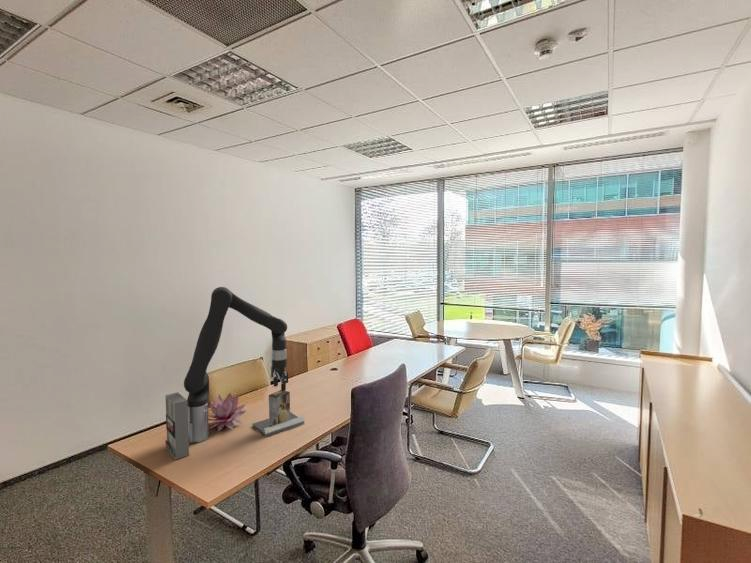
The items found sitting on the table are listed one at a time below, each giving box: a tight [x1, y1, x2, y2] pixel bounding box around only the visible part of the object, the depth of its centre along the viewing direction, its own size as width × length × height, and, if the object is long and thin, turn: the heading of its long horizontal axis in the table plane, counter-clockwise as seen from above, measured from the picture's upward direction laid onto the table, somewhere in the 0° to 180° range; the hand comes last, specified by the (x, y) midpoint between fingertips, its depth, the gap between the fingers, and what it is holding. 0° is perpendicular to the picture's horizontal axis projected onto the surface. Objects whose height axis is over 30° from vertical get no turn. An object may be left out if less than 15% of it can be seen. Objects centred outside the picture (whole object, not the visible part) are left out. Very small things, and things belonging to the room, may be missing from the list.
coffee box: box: [268, 389, 291, 426], centre depth 190 cm, size 9×6×16 cm
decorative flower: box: [208, 392, 247, 432], centre depth 190 cm, size 21×21×15 cm
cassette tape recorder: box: [164, 392, 190, 461], centre depth 164 cm, size 14×6×25 cm, turn 44°
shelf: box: [252, 411, 305, 438], centre depth 192 cm, size 22×15×4 cm
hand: (279, 388), depth 190 cm, fingers open, 8 cm apart
